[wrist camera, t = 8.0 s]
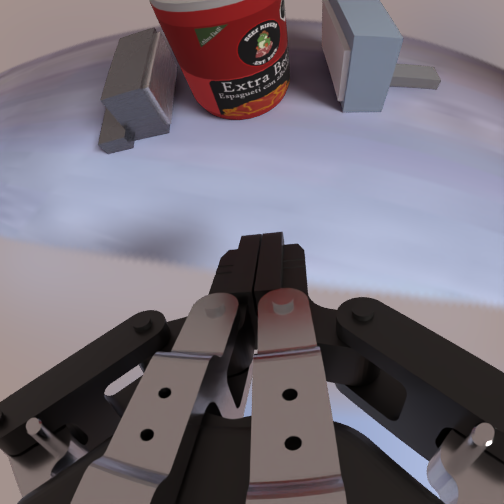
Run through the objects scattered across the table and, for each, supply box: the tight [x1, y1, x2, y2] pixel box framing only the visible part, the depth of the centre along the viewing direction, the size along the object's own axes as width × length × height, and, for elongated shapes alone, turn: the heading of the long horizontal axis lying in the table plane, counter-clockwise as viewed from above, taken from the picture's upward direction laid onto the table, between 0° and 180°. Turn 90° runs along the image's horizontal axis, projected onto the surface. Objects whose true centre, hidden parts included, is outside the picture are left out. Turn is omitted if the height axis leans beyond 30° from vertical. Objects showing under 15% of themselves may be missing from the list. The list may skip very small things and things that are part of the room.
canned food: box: [150, 0, 290, 120], centre depth 17 cm, size 8×8×11 cm
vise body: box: [98, 28, 177, 154], centre depth 21 cm, size 6×8×6 cm
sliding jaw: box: [322, 0, 441, 112], centre depth 18 cm, size 9×7×8 cm
